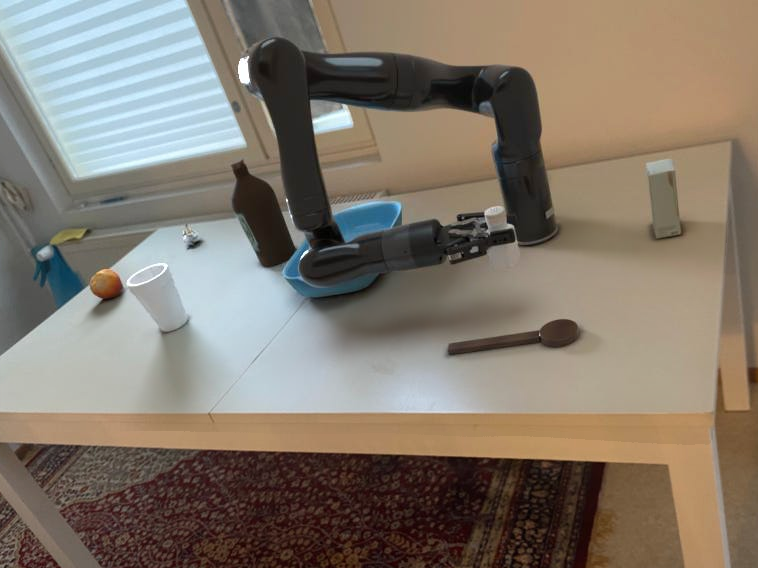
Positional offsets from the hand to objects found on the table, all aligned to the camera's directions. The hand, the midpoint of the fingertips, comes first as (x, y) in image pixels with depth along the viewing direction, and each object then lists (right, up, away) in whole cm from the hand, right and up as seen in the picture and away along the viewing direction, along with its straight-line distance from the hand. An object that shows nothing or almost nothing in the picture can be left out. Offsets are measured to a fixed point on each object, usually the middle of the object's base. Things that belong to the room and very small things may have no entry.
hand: (515, 227), depth 111 cm
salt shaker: (-1, -5, +4) cm, 7 cm away
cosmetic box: (+30, +2, +16) cm, 34 cm away
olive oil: (-48, +4, +62) cm, 79 cm away
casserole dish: (-28, 0, +45) cm, 53 cm away
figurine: (-78, +13, +91) cm, 121 cm away
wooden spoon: (0, -18, +1) cm, 18 cm away
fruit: (-95, -4, +76) cm, 121 cm away
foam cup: (-69, -13, +48) cm, 85 cm away
